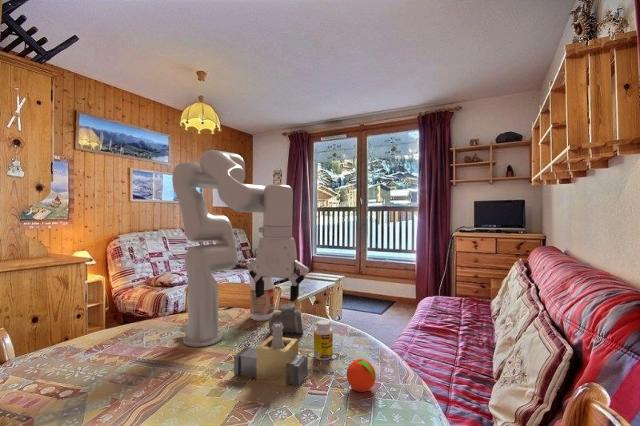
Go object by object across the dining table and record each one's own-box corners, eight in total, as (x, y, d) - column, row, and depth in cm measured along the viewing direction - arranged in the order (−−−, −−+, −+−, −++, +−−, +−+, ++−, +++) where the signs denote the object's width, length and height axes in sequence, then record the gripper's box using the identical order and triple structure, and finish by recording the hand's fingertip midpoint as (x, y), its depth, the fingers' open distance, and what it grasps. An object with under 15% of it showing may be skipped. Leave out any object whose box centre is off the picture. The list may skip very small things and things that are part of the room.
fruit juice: (247, 315, 129) (247, 248, 129) (269, 312, 133) (269, 246, 133) (254, 322, 120) (253, 250, 121) (277, 319, 125) (277, 249, 125)
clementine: (385, 394, 73) (385, 363, 73) (362, 404, 69) (362, 371, 69) (362, 379, 79) (362, 351, 79) (340, 387, 76) (340, 357, 76)
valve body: (232, 377, 80) (232, 344, 80) (248, 362, 88) (248, 332, 88) (297, 388, 75) (297, 353, 75) (308, 372, 83) (308, 340, 83)
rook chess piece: (269, 351, 83) (269, 321, 83) (286, 350, 83) (286, 320, 83) (268, 359, 78) (268, 327, 78) (286, 358, 79) (286, 326, 79)
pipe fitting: (304, 326, 115) (301, 299, 114) (304, 337, 107) (300, 308, 106) (272, 330, 115) (268, 303, 114) (269, 341, 107) (265, 312, 106)
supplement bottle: (320, 363, 88) (320, 326, 88) (310, 355, 93) (310, 321, 93) (336, 358, 91) (336, 323, 91) (325, 351, 96) (325, 317, 96)
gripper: (240, 232, 80) (239, 298, 80) (303, 235, 75) (302, 306, 75) (255, 230, 87) (254, 291, 87) (313, 233, 82) (312, 297, 82)
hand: (276, 298), depth 81 cm, fingers open, 9 cm apart
